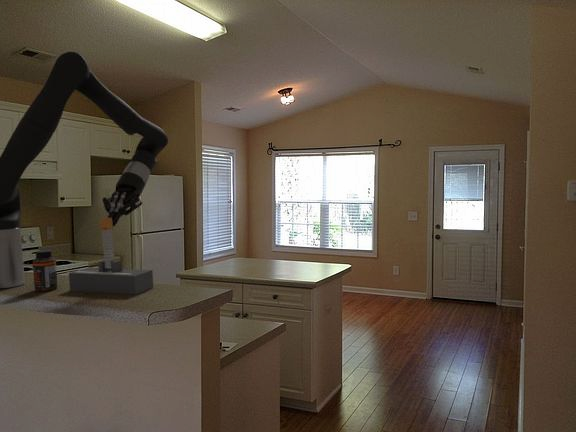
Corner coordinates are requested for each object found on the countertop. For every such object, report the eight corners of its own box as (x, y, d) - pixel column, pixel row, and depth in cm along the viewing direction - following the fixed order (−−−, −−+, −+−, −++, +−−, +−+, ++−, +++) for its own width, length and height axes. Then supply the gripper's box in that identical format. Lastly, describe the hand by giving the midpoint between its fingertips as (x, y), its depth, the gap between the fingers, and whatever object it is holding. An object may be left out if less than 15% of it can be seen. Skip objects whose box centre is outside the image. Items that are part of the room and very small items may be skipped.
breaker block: (70, 290, 137) (67, 262, 136) (90, 284, 144) (88, 257, 144) (135, 294, 130) (134, 264, 129) (153, 287, 137) (151, 259, 136)
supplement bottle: (30, 291, 138) (26, 251, 137) (48, 286, 143) (46, 248, 142) (43, 293, 135) (40, 252, 134) (62, 288, 140) (59, 249, 139)
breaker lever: (104, 271, 136) (99, 218, 134) (108, 269, 138) (103, 217, 136) (112, 271, 135) (107, 218, 133) (116, 269, 137) (111, 217, 135)
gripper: (108, 172, 146) (83, 216, 135) (146, 170, 142) (122, 216, 131) (121, 188, 151) (97, 233, 141) (158, 187, 147) (136, 233, 137)
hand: (109, 224), depth 136 cm, fingers closed
